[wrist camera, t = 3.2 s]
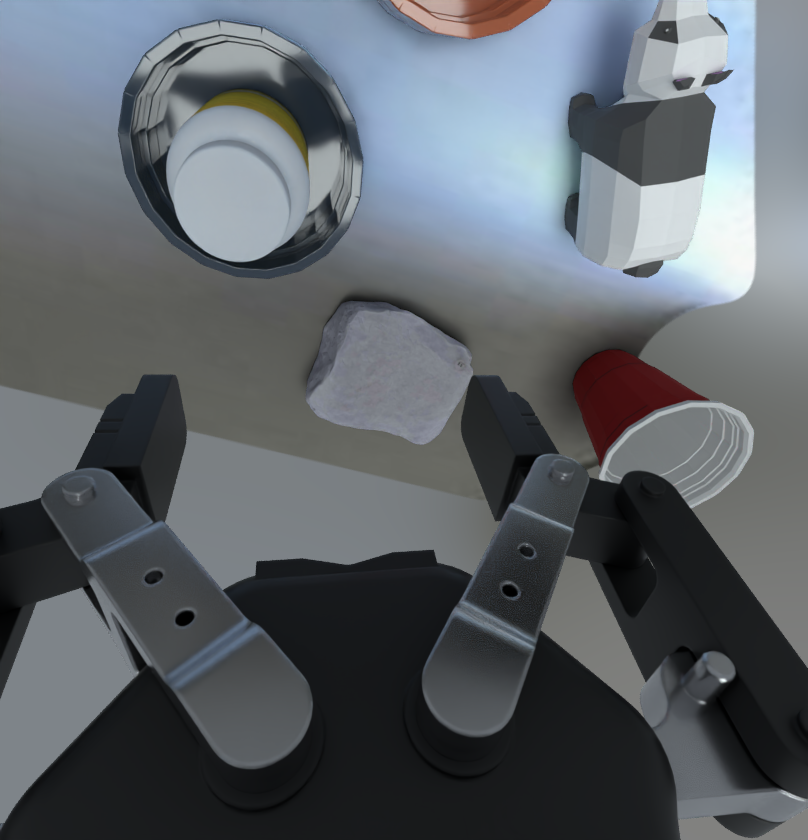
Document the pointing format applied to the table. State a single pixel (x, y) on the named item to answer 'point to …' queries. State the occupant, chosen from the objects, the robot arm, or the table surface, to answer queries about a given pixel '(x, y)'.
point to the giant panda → (649, 144)
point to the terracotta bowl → (463, 15)
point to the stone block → (387, 372)
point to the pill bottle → (239, 175)
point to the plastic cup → (659, 427)
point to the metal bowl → (253, 69)
